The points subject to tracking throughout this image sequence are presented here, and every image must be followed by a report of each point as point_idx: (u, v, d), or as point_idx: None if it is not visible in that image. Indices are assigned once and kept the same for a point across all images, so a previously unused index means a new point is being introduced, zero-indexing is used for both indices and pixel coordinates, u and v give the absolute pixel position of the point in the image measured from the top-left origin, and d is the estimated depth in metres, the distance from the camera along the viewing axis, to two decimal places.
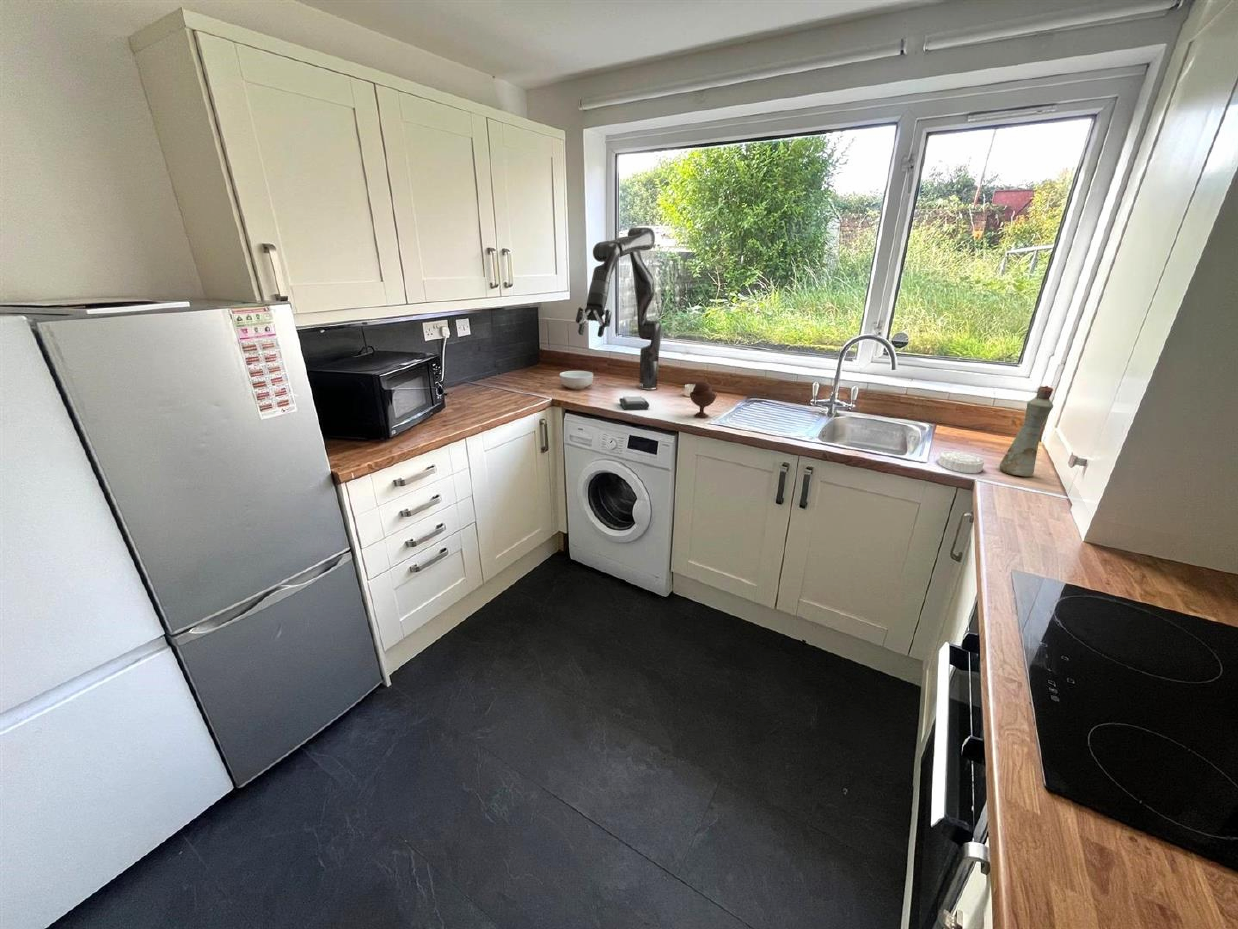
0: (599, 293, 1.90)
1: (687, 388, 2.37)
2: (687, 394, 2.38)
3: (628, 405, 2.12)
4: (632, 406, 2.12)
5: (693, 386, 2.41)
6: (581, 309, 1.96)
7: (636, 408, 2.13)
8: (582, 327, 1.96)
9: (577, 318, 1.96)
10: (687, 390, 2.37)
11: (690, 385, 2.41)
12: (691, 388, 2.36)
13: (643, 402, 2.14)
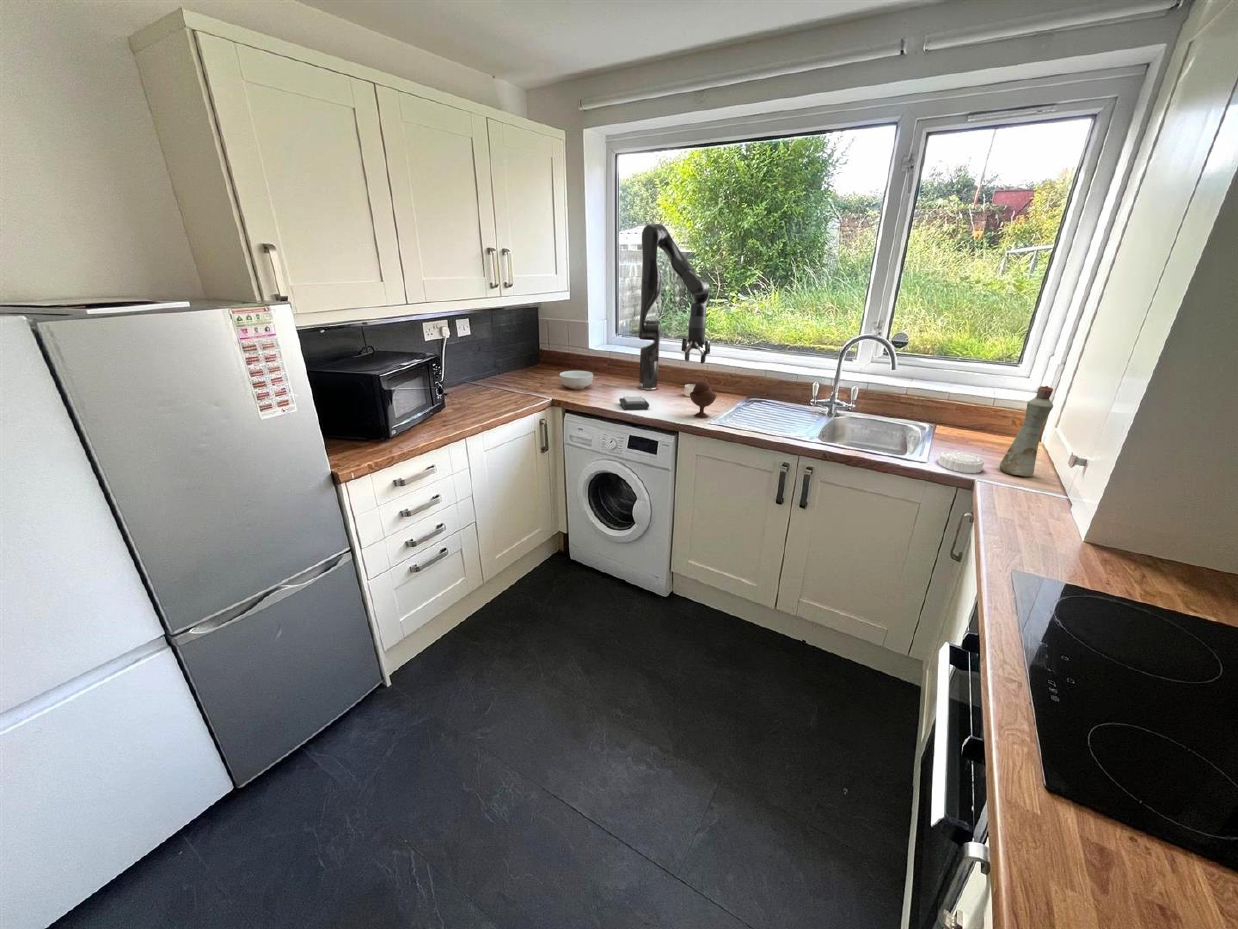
0: None
1: (687, 388, 2.37)
2: (687, 394, 2.38)
3: (628, 405, 2.12)
4: (632, 406, 2.12)
5: (693, 386, 2.41)
6: None
7: (636, 408, 2.13)
8: None
9: None
10: (687, 390, 2.37)
11: (690, 385, 2.41)
12: (691, 388, 2.36)
13: (643, 402, 2.14)
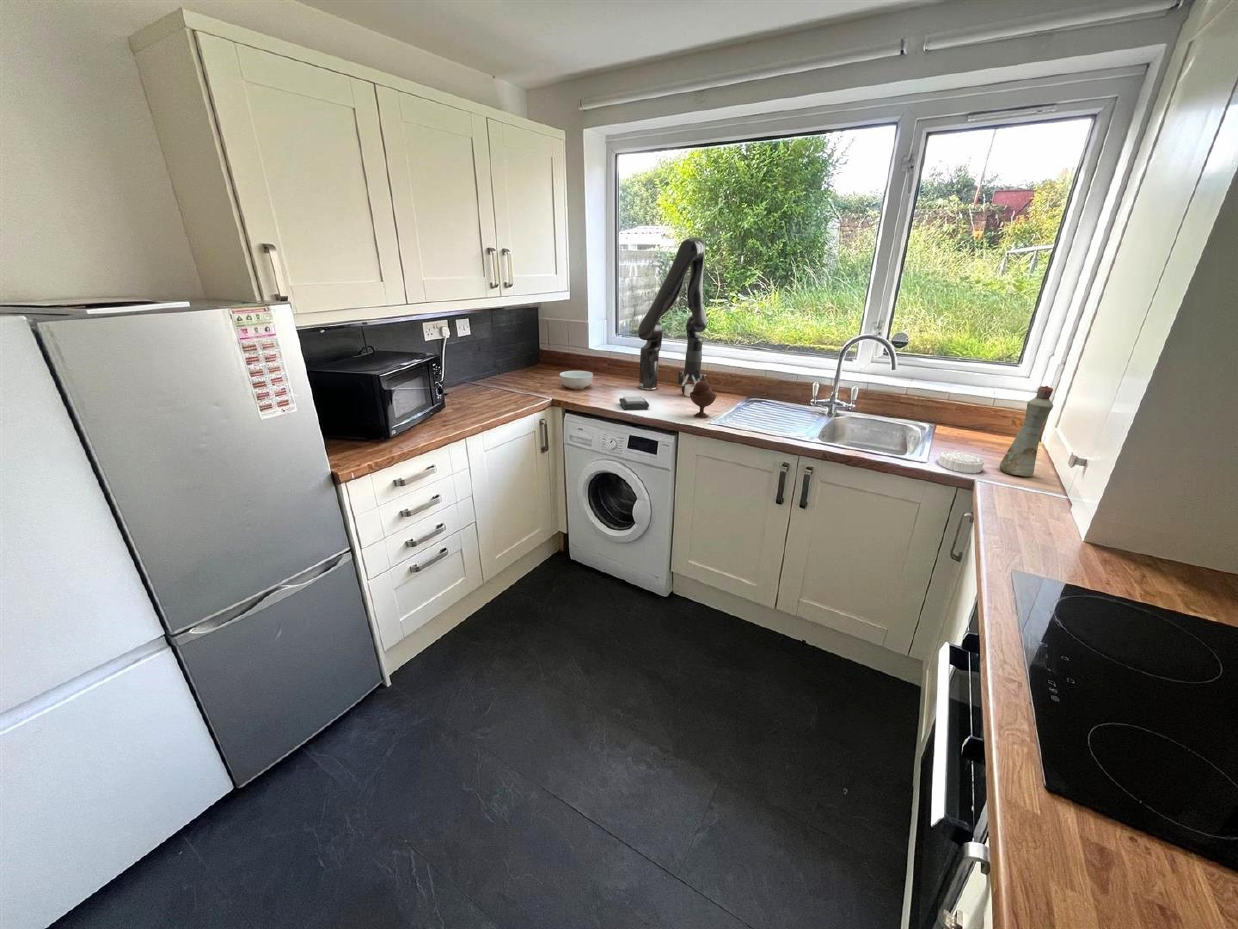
0: None
1: (687, 388, 2.37)
2: (687, 394, 2.38)
3: (628, 405, 2.12)
4: (632, 406, 2.12)
5: (693, 386, 2.41)
6: None
7: (636, 408, 2.13)
8: None
9: None
10: (687, 390, 2.37)
11: (690, 385, 2.41)
12: (691, 388, 2.36)
13: (643, 402, 2.14)
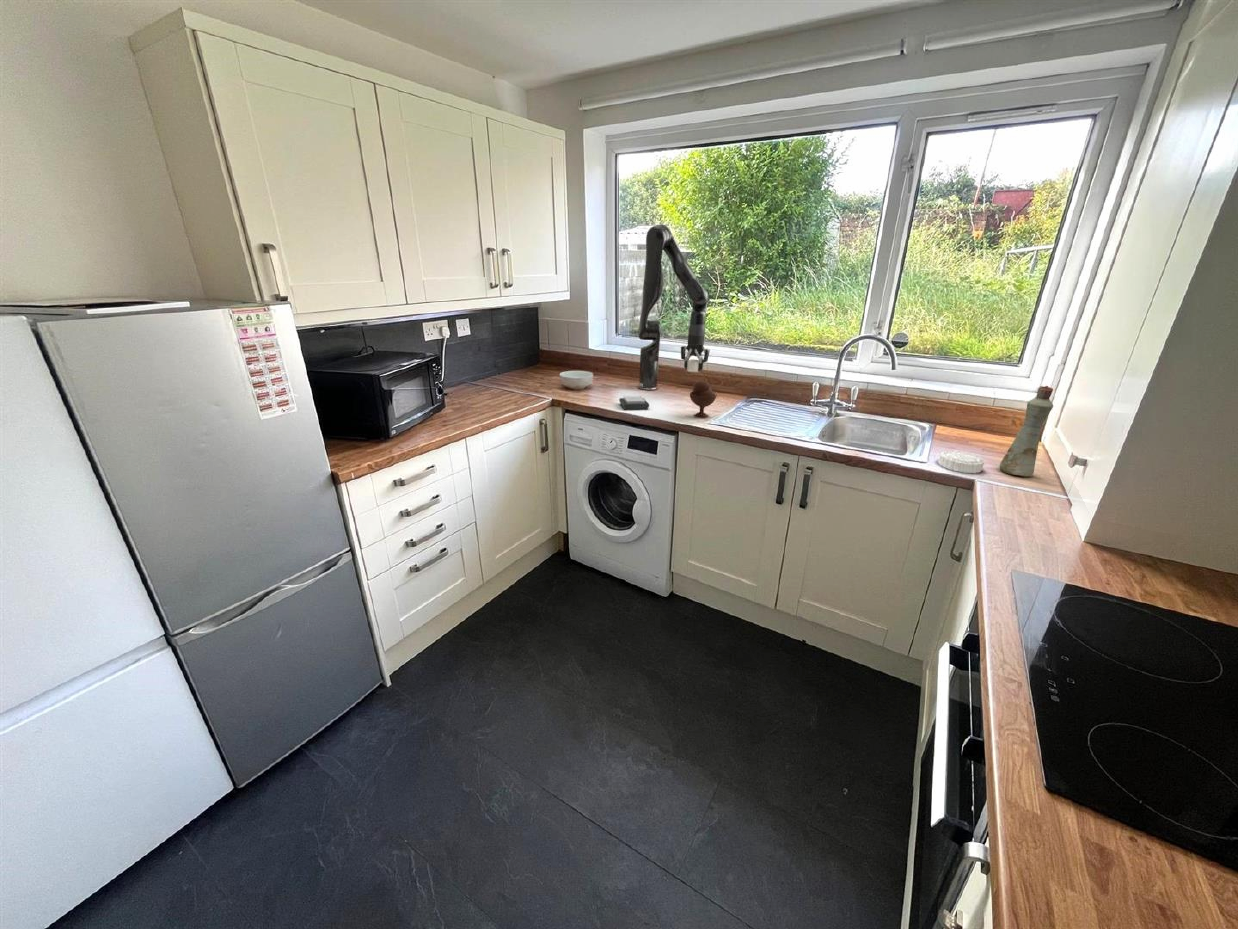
0: None
1: (690, 363, 2.33)
2: (690, 369, 2.34)
3: (628, 405, 2.12)
4: (632, 406, 2.12)
5: (696, 361, 2.38)
6: None
7: (636, 408, 2.13)
8: None
9: None
10: (690, 365, 2.34)
11: (693, 360, 2.38)
12: (694, 363, 2.33)
13: (643, 402, 2.14)
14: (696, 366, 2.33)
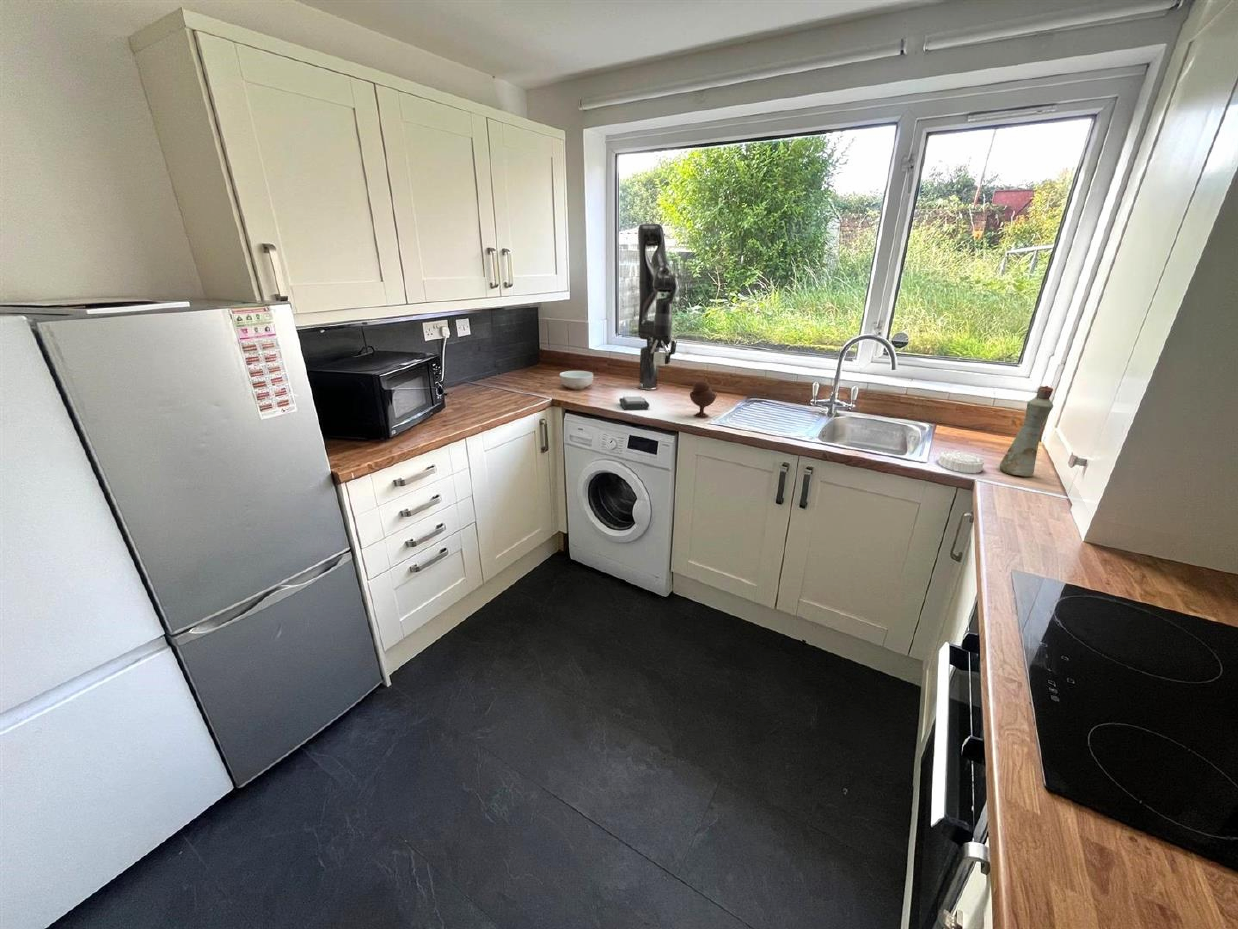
0: None
1: (656, 355, 2.17)
2: (656, 362, 2.18)
3: (628, 405, 2.12)
4: (632, 406, 2.12)
5: (663, 354, 2.21)
6: None
7: (636, 408, 2.13)
8: None
9: None
10: (656, 358, 2.17)
11: (660, 353, 2.21)
12: (660, 355, 2.16)
13: (643, 402, 2.14)
14: (663, 359, 2.17)
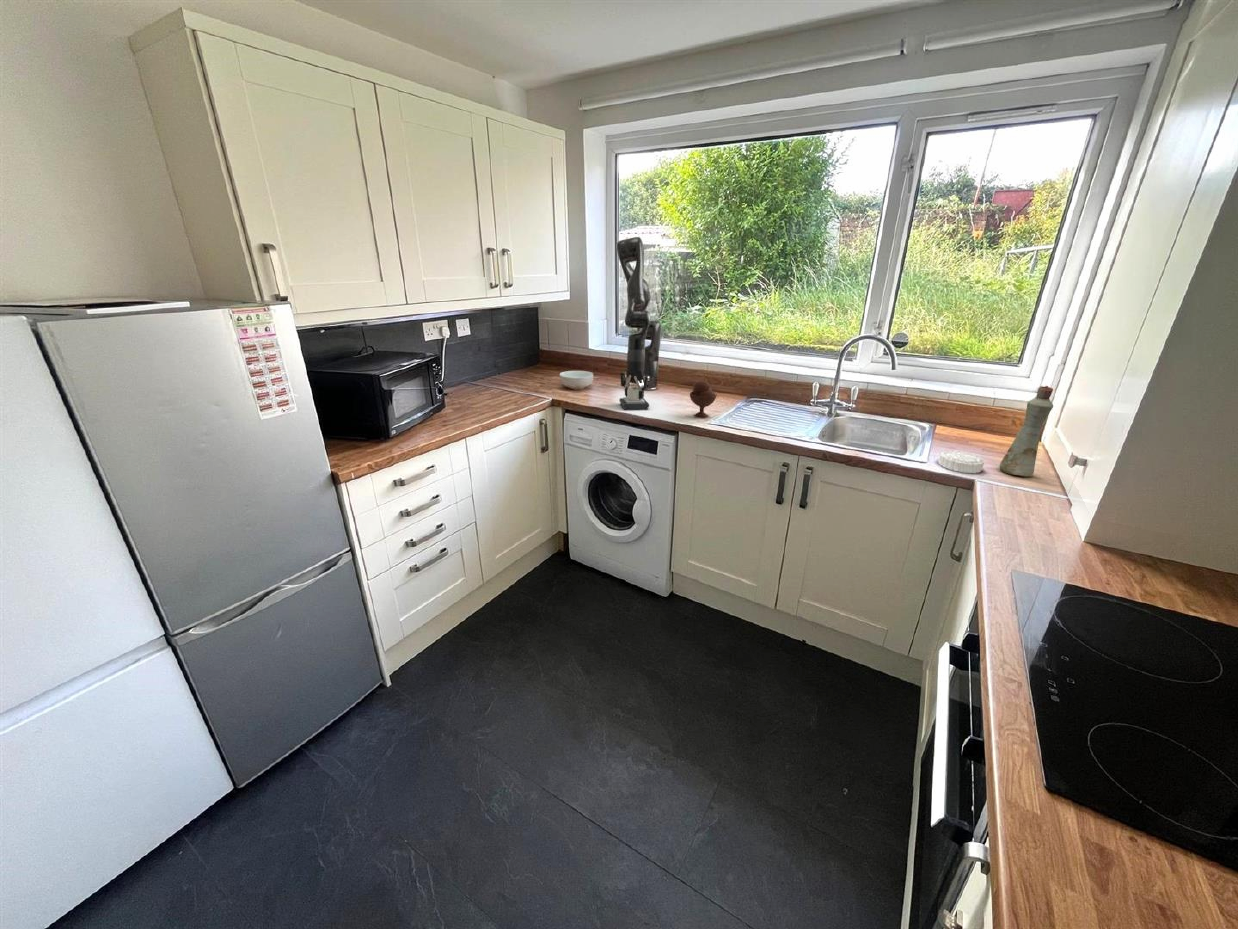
0: None
1: (629, 391, 2.13)
2: (630, 397, 2.14)
3: (628, 405, 2.12)
4: (632, 406, 2.12)
5: (637, 388, 2.18)
6: None
7: (636, 408, 2.13)
8: None
9: None
10: (629, 393, 2.14)
11: (634, 387, 2.18)
12: (634, 391, 2.13)
13: (643, 403, 2.14)
14: (636, 394, 2.13)
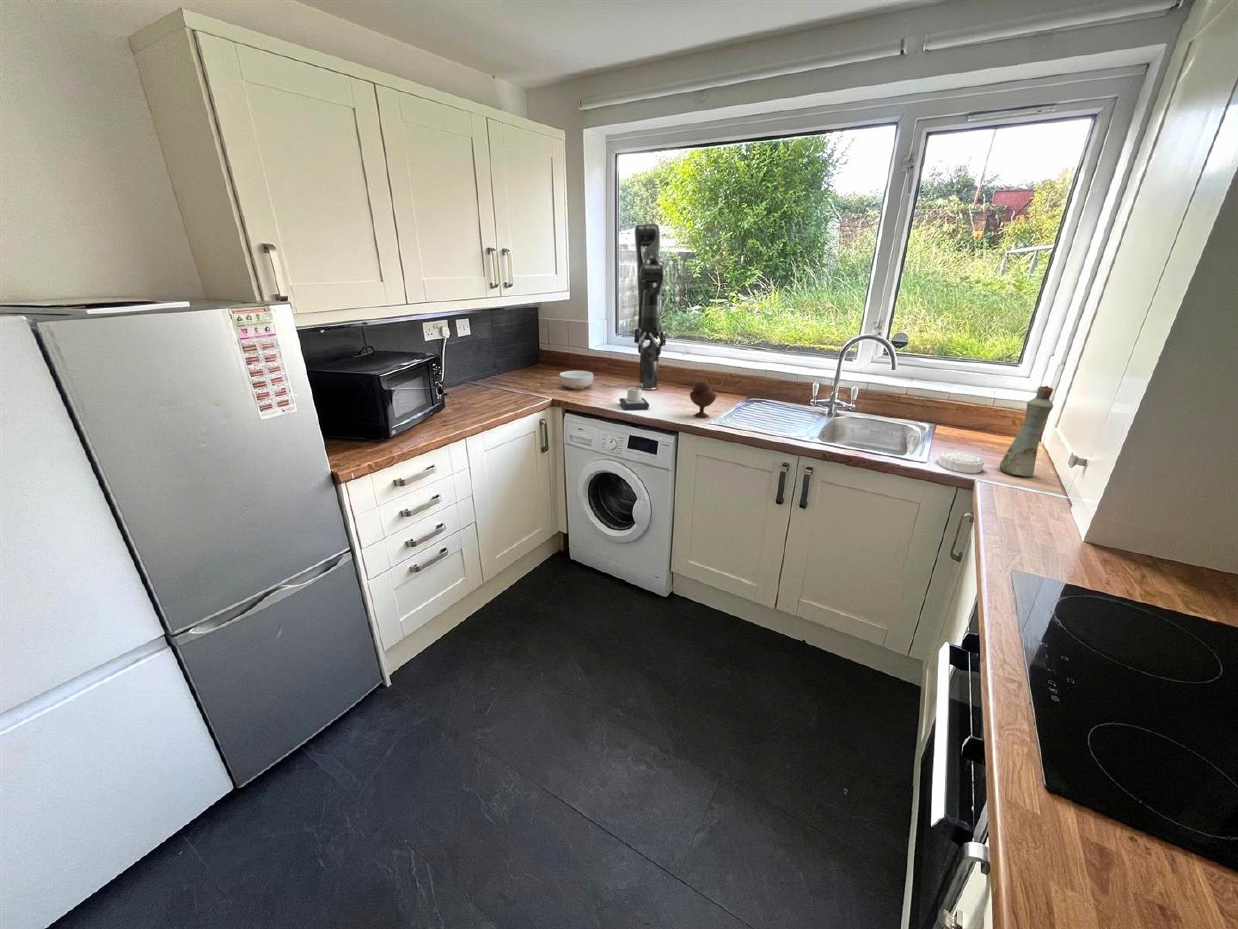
0: None
1: (629, 392, 2.13)
2: (630, 398, 2.14)
3: (628, 405, 2.12)
4: (632, 406, 2.12)
5: (637, 389, 2.18)
6: None
7: (636, 408, 2.13)
8: None
9: None
10: (629, 394, 2.14)
11: (634, 388, 2.18)
12: (634, 392, 2.13)
13: (643, 403, 2.14)
14: (636, 395, 2.13)
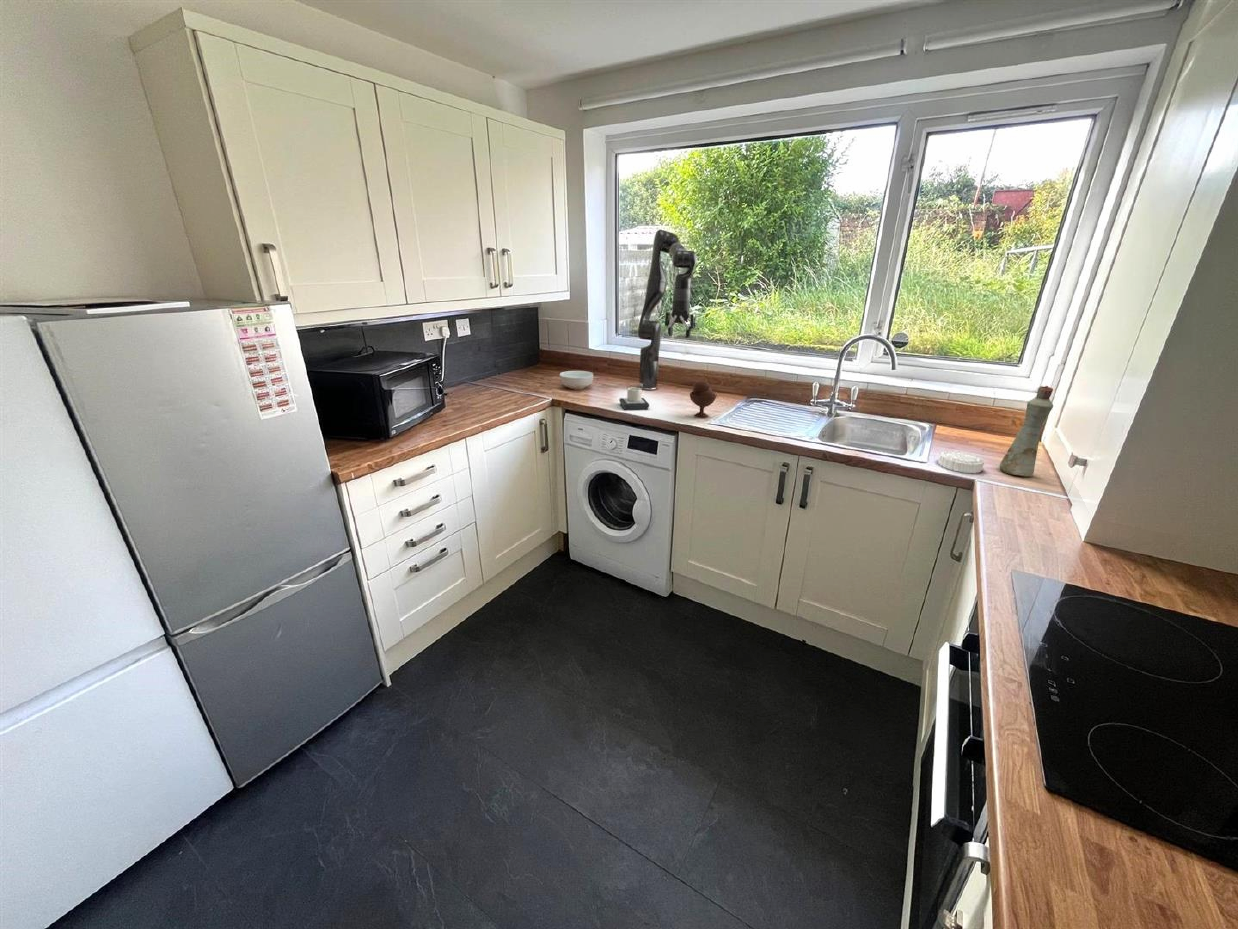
0: None
1: (629, 392, 2.13)
2: (630, 398, 2.14)
3: (628, 405, 2.12)
4: (632, 406, 2.12)
5: (637, 389, 2.18)
6: None
7: (636, 408, 2.13)
8: None
9: None
10: (629, 394, 2.14)
11: (634, 388, 2.18)
12: (634, 392, 2.13)
13: (643, 403, 2.14)
14: (636, 395, 2.13)
